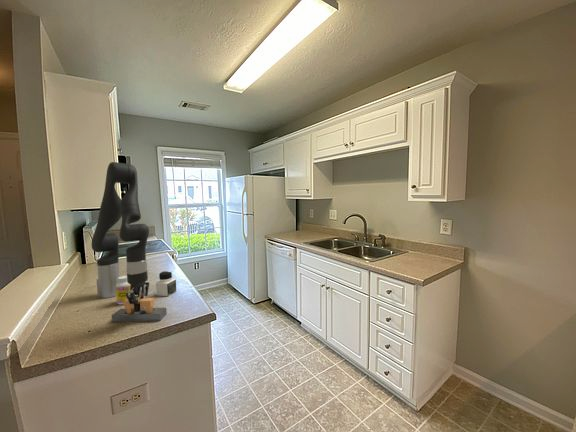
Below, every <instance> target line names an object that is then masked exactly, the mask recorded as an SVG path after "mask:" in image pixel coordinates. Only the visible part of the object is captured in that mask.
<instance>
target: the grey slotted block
mask: <svg viewBox="0 0 576 432" xmlns="http://www.w3.org/2000/svg"><path fill="white" fill-rule="evenodd" d="M167 312H168V311H167V307H153V311H152V312H151V313H146V308H140V311H139V312H133V313H132V314H127V308H120V309H118V310H117V311H115V312H114V313H113V314H111V322H112V323H122V322H123V323H124V322H126V323H127V322H135V323H136V322H161V320H162V319H164V317H165V316H167V314H168V313H167Z"/></svg>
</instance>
